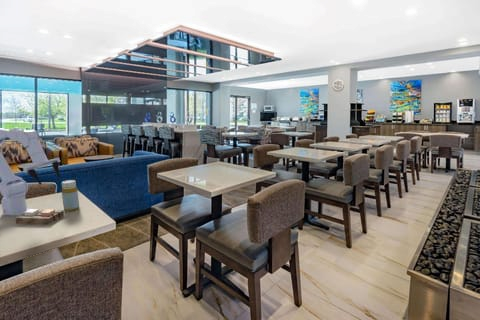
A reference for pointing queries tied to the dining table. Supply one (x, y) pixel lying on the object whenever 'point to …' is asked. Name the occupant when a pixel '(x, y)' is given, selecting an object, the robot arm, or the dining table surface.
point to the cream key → (31, 212)
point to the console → (40, 218)
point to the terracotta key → (47, 212)
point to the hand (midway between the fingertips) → (50, 181)
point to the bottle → (70, 195)
